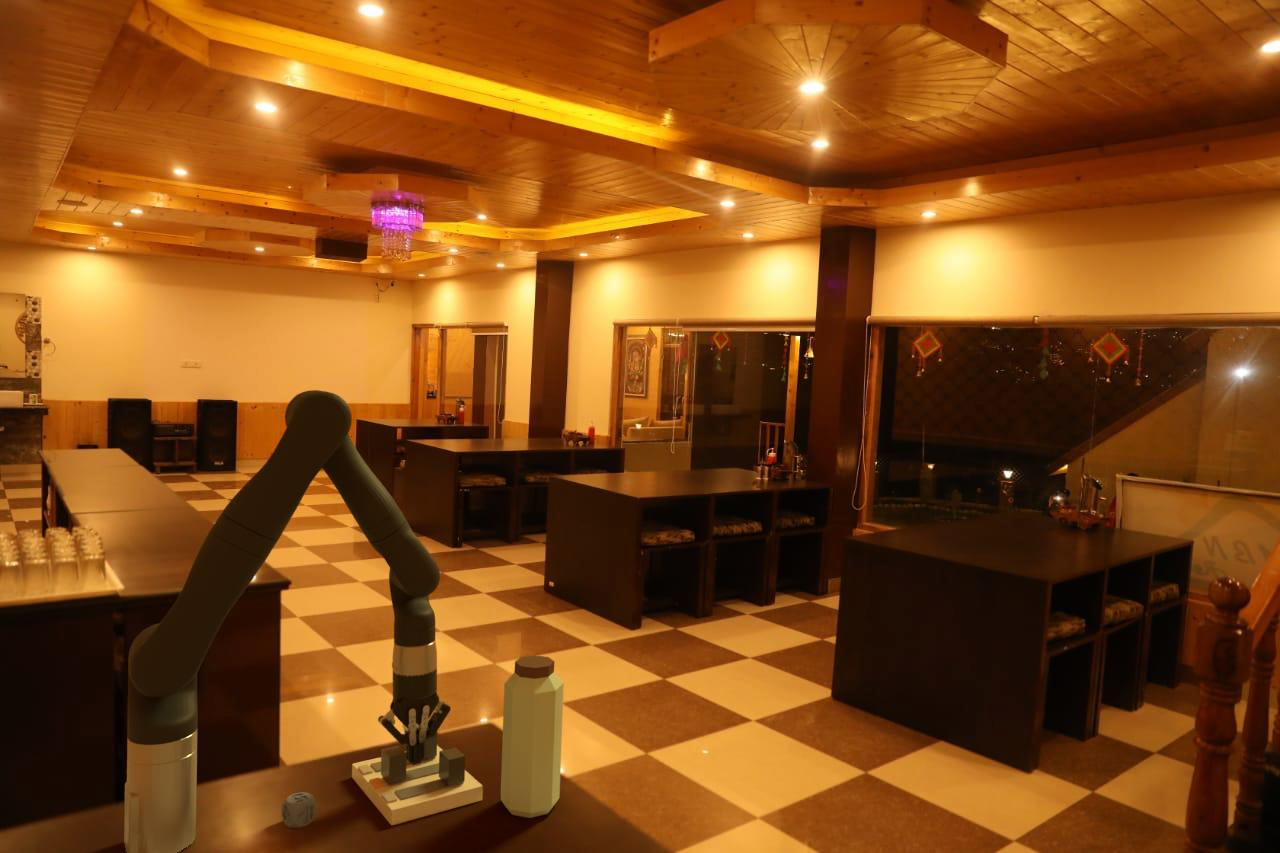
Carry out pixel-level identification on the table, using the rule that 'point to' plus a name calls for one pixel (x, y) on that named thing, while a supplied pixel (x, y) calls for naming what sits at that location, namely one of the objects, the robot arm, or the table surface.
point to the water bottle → (532, 737)
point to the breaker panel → (414, 790)
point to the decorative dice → (299, 810)
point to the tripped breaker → (393, 764)
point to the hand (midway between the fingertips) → (415, 762)
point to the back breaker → (430, 747)
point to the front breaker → (451, 766)
